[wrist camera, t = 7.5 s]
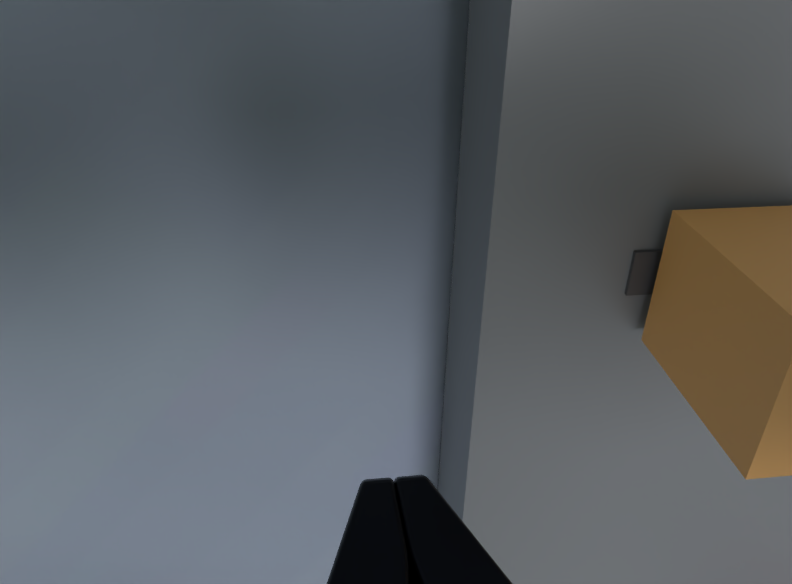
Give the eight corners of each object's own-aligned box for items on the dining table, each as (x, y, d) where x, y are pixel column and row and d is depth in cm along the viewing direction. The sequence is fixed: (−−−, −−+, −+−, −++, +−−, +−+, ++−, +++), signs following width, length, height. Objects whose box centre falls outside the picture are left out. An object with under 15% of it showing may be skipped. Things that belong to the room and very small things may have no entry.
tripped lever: (641, 339, 15) (745, 479, 11) (672, 210, 13) (803, 327, 10) (772, 331, 15) (911, 464, 12) (817, 204, 14) (993, 315, 10)
